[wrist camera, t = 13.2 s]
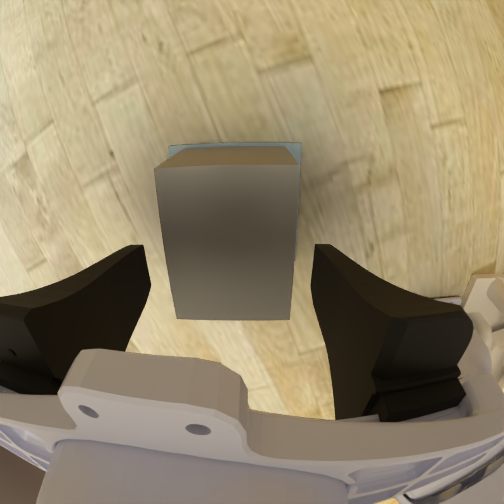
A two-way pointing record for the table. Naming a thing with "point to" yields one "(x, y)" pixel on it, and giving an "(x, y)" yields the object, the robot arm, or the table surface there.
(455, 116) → the table surface
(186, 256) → the taupe rectangular post
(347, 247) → the table surface
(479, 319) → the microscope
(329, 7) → the table surface
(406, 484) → the robot arm
